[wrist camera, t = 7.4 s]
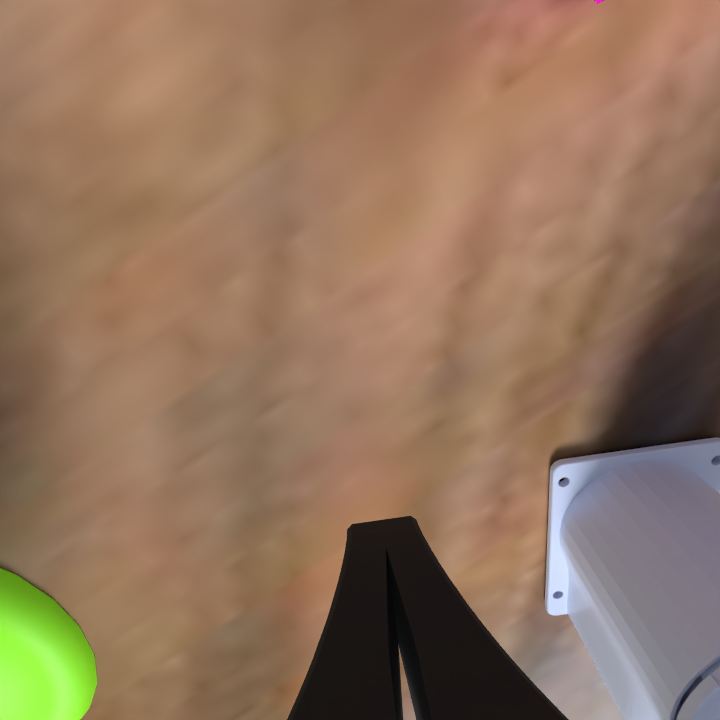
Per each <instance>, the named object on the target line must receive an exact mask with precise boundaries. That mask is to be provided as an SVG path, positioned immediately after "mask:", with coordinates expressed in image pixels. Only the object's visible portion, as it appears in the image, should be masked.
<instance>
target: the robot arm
mask: <svg viewBox="0 0 720 720" xmlns="http://www.w3.org/2000/svg"><path fill="white" fill-rule="evenodd" d="M715 456H716V457H715ZM714 457H715V458H714ZM713 458H714V459H713ZM564 477H565V479H564V480H563V481H560V482H559V480H560V479H561V478H564ZM545 607H546V610H547V612H548V613H549V614H551V615H562V614H569V616H570V618H571V620H572V622H573V624H574V626H575V628H576V630H577V632H578V634H579V636H580V637H581V639H582V641H583V643H584V645H585V647H586V649H587V651H588V653H589V655H590V657H591V658H592V660H593V662H594V664H595V666H596V668H597V670H598V672H599V674H600V676H601V678H602V679H603V681H604V683H605V685H606V687H607V689H608V691H609V693H610V695H611V697H612V699H613V701H614V702H615V704H616V706H617V708H618V710H619V712H620V714H621V716H622V718H623V720H720V438H716V437H715V438H708V439H701V440H694V441H687V442H680V443H673V444H665V445H658V446H651V447H644V448H637V449H630V450H623V451H616V452H609V453H602V454H595V455H588V456H581V457H574V458H567V459H561V460H557V461H556V462H554V463H553V465H552V466H551V469H550V486H549V511H548V536H547V562H546V587H545ZM398 644H399V647H398ZM399 648H400V653H401V657H402V661H403V665H404V669H405V674H406V678H407V682H408V686H409V690H410V695H411V699H412V703H413V707H414V711H415V715H416V720H568V719H567V718H566V717H565V716H564V715H563V714H562V713H561V712H560V711H559V710H558V708H557V707H556V706H555V705H554V704H553V703H552V702H551V701H550V700H549V699H548V698H547V697H546V696H545V695H544V694H543V693H542V692H541V691H540V690H539V689H538V688H537V687H536V686H535V684H534V683H533V682H532V681H531V680H530V679H529V678H528V677H527V676H526V674H525V673H524V672H523V671H522V670H521V669H520V668H519V667H518V666H517V665H516V663H515V662H514V661H513V660H512V659H511V658H510V656H509V655H508V654H507V653H506V652H505V651H504V649H503V648H502V647H501V646H500V645H499V643H498V642H497V641H496V640H495V639H494V637H493V636H492V635H491V634H490V632H489V631H488V630H487V629H486V627H485V626H484V625H483V624H482V622H481V621H480V620H479V619H478V617H477V616H476V615H475V613H474V612H473V611H472V609H471V608H470V607H469V605H468V604H467V603H466V601H465V600H464V598H463V597H462V596H461V594H460V593H459V591H458V590H457V588H456V587H455V586H454V584H453V583H452V581H451V580H450V579H449V577H448V576H447V574H446V573H445V571H444V569H443V568H442V566H441V565H440V563H439V562H438V560H437V558H436V557H435V555H434V553H433V552H432V550H431V548H430V547H429V545H428V543H427V541H426V539H425V538H424V536H423V534H422V532H421V530H420V528H419V525H418V523H417V520H416V519H414V518H413V517H411V516H406V517H399V518H392V519H385V520H378V521H371V522H364V523H357V524H352V525H351V526H350V527H349V528H348V529H347V541H346V548H345V554H344V559H343V564H342V568H341V572H340V576H339V581H338V584H337V588H336V591H335V594H334V598H333V601H332V605H331V608H330V612H329V615H328V618H327V621H326V624H325V627H324V629H323V632H322V635H321V638H320V641H319V643H318V646H317V649H316V652H315V654H314V657H313V660H312V663H311V665H310V668H309V670H308V673H307V675H306V678H305V680H304V682H303V685H302V687H301V689H300V692H299V694H298V696H297V699H296V701H295V703H294V705H293V708H292V710H291V712H290V714H289V717H288V719H287V720H403V711H402V695H401V679H400V663H399Z"/></svg>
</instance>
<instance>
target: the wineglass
mask: <svg viewBox="0 0 720 720" xmlns="http://www.w3.org/2000/svg"><path fill="white" fill-rule="evenodd" d="M96 686H97V674H96V665H95V656H94V653H93V651H92V649H91V648H90V646H89V644H88V642H87V640H86V638H85V636H84V634H83V632H82V630H81V628H80V626H79V625H78V624H77V623H76V622H75V621H74V620H73V619H72V618H71V617H70V616H69V615H68V614H67V613H66V612H65V611H64V610H63V609H62V608H61V607H60V605H59V604H58V603H57V602H56V601H55V600H54V599H52V598H51V597H49V596H48V595H46V594H45V593H43V592H42V591H40V590H39V589H37V588H36V587H34V586H33V585H31V584H30V583H28V582H27V581H25V580H24V579H22V578H21V577H19V576H18V575H16V574H14V573H11V572H9V571H6V570H4V569H1V568H0V720H80V719H81V718H82V717H83V715H84V714H85V713H86V712H87V710H88V709H89V708H90V705H91V702H92V698H93V695H94V692H95V689H96Z"/></svg>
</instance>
